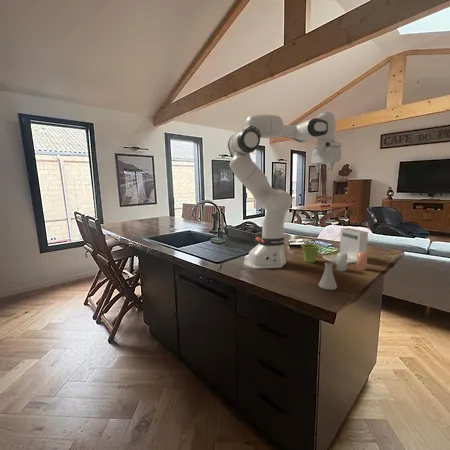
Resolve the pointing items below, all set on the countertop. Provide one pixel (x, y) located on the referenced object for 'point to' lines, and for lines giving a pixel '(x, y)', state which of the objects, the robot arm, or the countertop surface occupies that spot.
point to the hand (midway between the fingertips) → (324, 171)
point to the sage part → (341, 261)
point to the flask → (328, 278)
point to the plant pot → (310, 252)
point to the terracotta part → (361, 260)
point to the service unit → (350, 244)
